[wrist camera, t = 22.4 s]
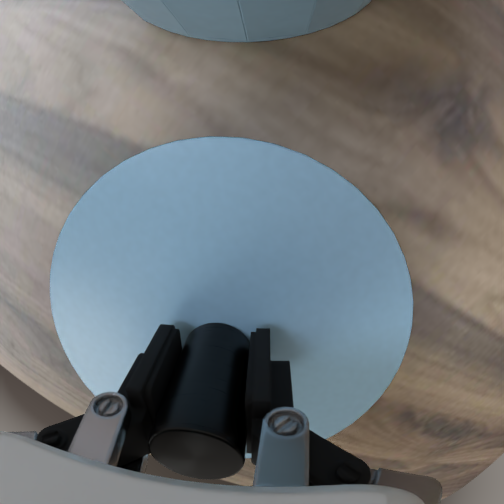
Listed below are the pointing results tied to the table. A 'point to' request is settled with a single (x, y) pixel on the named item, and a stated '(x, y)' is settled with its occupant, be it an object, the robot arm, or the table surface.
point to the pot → (245, 17)
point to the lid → (231, 289)
